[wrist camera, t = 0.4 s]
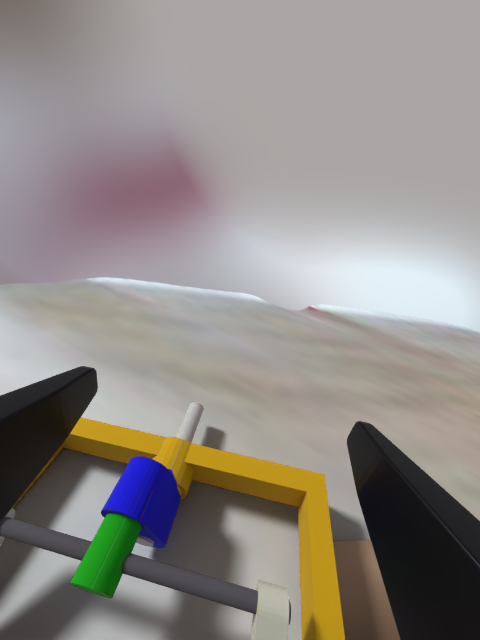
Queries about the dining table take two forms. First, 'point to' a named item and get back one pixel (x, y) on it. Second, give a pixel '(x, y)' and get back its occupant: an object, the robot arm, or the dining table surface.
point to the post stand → (362, 593)
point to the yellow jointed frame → (159, 512)
